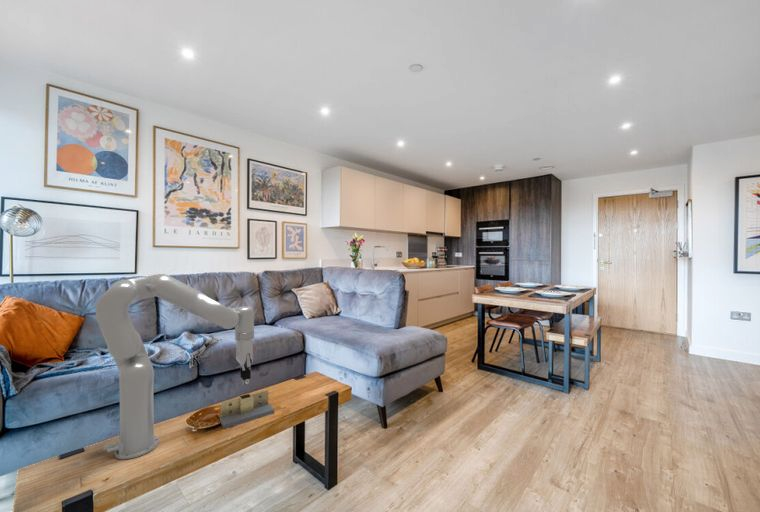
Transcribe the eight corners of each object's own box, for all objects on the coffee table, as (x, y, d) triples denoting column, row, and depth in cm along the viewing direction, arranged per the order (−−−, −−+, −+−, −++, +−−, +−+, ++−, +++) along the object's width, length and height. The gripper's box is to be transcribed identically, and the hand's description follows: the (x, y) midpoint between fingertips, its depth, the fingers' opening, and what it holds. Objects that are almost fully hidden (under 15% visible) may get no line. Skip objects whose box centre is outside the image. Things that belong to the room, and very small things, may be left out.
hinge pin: (243, 385, 135) (243, 364, 135) (242, 383, 137) (241, 362, 137) (249, 383, 137) (249, 363, 137) (247, 382, 139) (247, 361, 139)
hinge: (222, 419, 129) (222, 405, 129) (219, 415, 133) (219, 400, 133) (269, 406, 140) (269, 392, 140) (266, 401, 145) (266, 388, 145)
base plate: (223, 428, 125) (223, 424, 125) (216, 414, 136) (216, 411, 136) (274, 413, 137) (274, 409, 137) (264, 401, 148) (264, 398, 148)
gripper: (231, 333, 141) (231, 374, 141) (240, 340, 128) (241, 386, 128) (248, 330, 146) (249, 371, 146) (259, 337, 133) (260, 381, 133)
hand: (245, 377), depth 137 cm, fingers closed on hinge pin, 2 cm apart
